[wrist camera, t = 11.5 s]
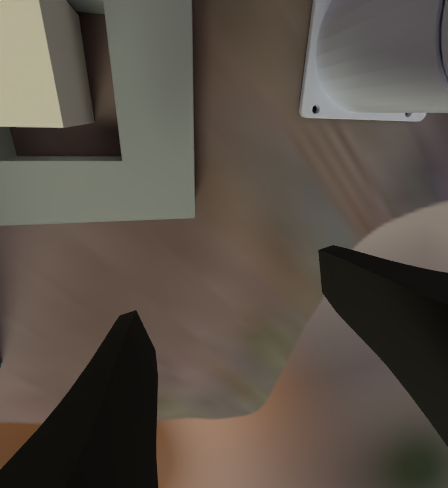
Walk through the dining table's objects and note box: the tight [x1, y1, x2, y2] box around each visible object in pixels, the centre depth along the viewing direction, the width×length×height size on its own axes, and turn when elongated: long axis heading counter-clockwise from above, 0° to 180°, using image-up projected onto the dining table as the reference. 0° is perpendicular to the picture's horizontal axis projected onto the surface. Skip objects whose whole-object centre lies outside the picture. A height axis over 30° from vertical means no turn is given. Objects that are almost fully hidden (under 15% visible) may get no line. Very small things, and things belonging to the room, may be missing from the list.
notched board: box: [0, 0, 195, 226], centre depth 14 cm, size 14×14×2 cm
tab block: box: [0, 0, 95, 128], centre depth 12 cm, size 3×5×6 cm, turn 178°
